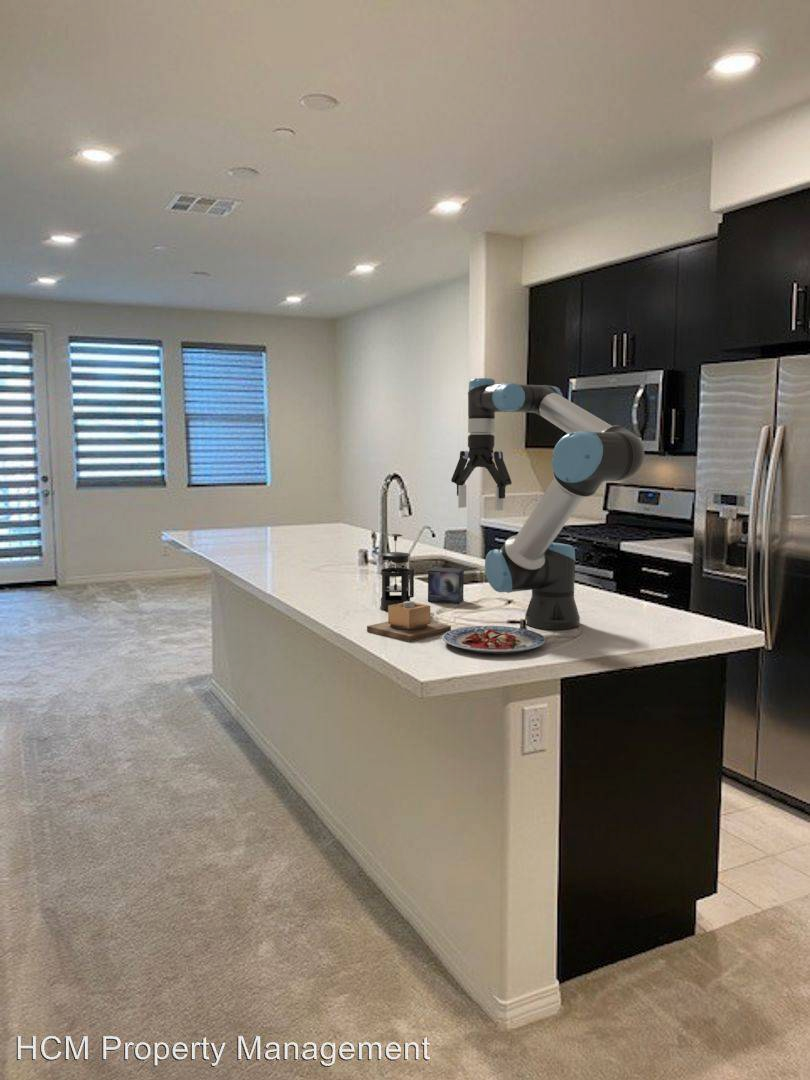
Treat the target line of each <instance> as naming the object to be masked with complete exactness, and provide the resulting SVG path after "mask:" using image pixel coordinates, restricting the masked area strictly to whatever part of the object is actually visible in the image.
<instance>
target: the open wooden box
mask: <svg viewBox="0 0 810 1080" xmlns="http://www.w3.org/2000/svg"><path fill="white" fill-rule="evenodd" d="M387 617H388V618H387V622H388V624H391V625H395V626H400V627H404V628H408V629H410V628H415V627H419V626H423V625H428V624H430V622H431V605H429V604H424V603H418V602H415V607H413V608H405V607H403V603H399V604H394V605H389V606H388V611H387Z"/></svg>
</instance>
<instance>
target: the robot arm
mask: <svg viewBox="0 0 810 1080" xmlns="http://www.w3.org/2000/svg"><path fill="white" fill-rule="evenodd" d="M467 405H468V406H467V414H468V418H467V433H468V435H467V447H468V450H461V451H460V452H459V460H458V462H457V464H456V466H455V470H454V471H453V475H452V477H451V483H454V484H456V496H458V497H457V499H458V501H457V504H458V508H459V509H461V508H467V484H466V482H467V480H468V479H469V478H470V476H471V474H472V473H473V471H474V470H475V469H476V468H479V467H480V468H485V469H487V471H488V472H489V475H490V476H491V478H492V479H493V481H494V482H495V483H496V486H495V487H494V489H495V490H494V491H495V492H494V495H495V497H494V511H503V510H504V499H506V488H507V486H510V485H512V479H511V477H510V474H509V472H508V469H507V466H506V463H505V461H504V455H503V451H502V450H501V451H499V450H498V451H497V450H496V451H494V447H495V435H494V433H495V426H496V425H495V422H496V421H495V420H496V419H495V417H496V413H530V414H531V413H533V414H536V415H538V416H540V417H541V418H543V419H545V420H546V421H548V422H549V423H551V424H553V425H554V426H555V427H557V428H559V429H560V430H562V431H563V432H565V433H566V434H565V435H564V436H562V437H561V438H560V439H559V440H558V442H557V443H556V444H555V446H554V449H553V451H552V456H553V458H552V459H551V467H552V475H553V479H552V481H551V482H550V483H549V485H548V486H547V488H546V490H545V492H543V494H542V496H541V498H540V499H539V500H538V502H537V503H536V505H535V506H534V508H533V510H532V512H531V513H530V515H528V517H527V519H526V521H525V522H524V524H523V525H522V527H521V528H520V530H519V531H518V533H517V534H516V535H512V536H510V537H509V538H507V539H506V540H505V542H504V543H503V545H502V547H501V548H499V549H498V548H494V549H491V550H490V551H488V553H487V554H486V557H485V560H484V570H485V576H486V580H487V582H488V583H489V586H491V588H492V589H493V590H494V591H496V593H497V592H498V593H507V594H509V593H516V592H523V591H531V598H530V600H529V603H528V606H527V609H526V612H525V614H524V615H525V616H524V621H525V620H527V624H528V625H527V624H526V625H527V626H528V627H531V628H532V627H533V628H536V629H540V630H541V629H543V630H556V631H557V630H559V631H560V630H570V629H575V628H578V627H580V625H581V623H580V622H581V617H580V613H579V610H578V606H577V603H576V600H575V576H576V575H575V573H576V570H575V569H576V561H577V560H576V551H575V548H574V546H573V545H571V544H565V543H562V542H561V543H560V542H554V540H555V539H556V538H557V537H558V535H559V534H560V532H561V531H562V529H563V528H564V527H565V525H566V523H567V522H568V521H569V519H570V518H571V517H572V515H573V514H574V512H575V511H576V509H577V508H578V507H579V505H580V504H581V502H582V501H583V500H584V498H589V497H592V496H593V495H594V494H596V492H597V491H598V489H599V488H600V486H601V485H602V484H603V483H605V482H615V481H616V482H617V481H618V482H619V481H624V480H627V479H630V478H631V477H633V476H634V475H636V474H637V472H639V471H640V469H641V467H642V465H643V463H644V461H645V448H644V445H643V443H642V441H641V440H640V438H638V436H637V435H636V434H634V433H633V432H631V431H630V430H628V429H626V428H625V427H623V426H622V425H618V424H617V425H612V424H610V423H607V422H606V421H604V420H602V419H601V418H600V417H598V416H596V415H594V414H593V413H591V412H589V411H587V410H586V409H584V408H582V407H581V406H579V405H577V404H575V403H573V402H572V401H571V400H569V399H567V398H565V397H564V396H563V393H562V391H561V389H560V388H559V387H557V386H553V385H548V384H543V385H541V384H538V385H537V384H521V383H520V384H518V383H516V382H502V383H497V384H496V381H495V379H494V378H489V377H479V378H477V377H476V378H472V379H470V380H469V382H468V392H467ZM493 459H494V460H493Z"/></svg>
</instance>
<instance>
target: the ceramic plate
mask: <svg viewBox="0 0 810 1080" xmlns="http://www.w3.org/2000/svg"><path fill="white" fill-rule="evenodd" d="M442 640H443V641H444V642H445V643H446V644H448V645H449V646H453V647H456V648H458V649H459V648H460V649H464V650H467V651H470V652H475V653H480V654H490V653H494V654H495V655H496V654H497V655H500V654H502V653H505V654H514V653H520V652H523V651H528V650H532V649H535V648H538V647H541V646H542V645H544V644H545V643H546V637H545V636H544V635H542V634H540V633H538V632H536V631H532V630H529V629H526V628H525V629H524V628H519V627H513V626H504V625H475V626H464V627H459V628H455V629H451V631H448V632H446V633H443V634H442ZM494 654H493V655H494Z"/></svg>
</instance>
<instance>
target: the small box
mask: <svg viewBox="0 0 810 1080" xmlns="http://www.w3.org/2000/svg"><path fill="white" fill-rule="evenodd" d="M464 573H465V569H464V568H455V567H454V568H453V567H452V568H451V567H437V566H435V567H434V566H433V567H431V568H430V569H428V570H427V602H429V603H441V604H454V605H460V603H463V602H464V585H465V583H464V575H465V574H464Z"/></svg>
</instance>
